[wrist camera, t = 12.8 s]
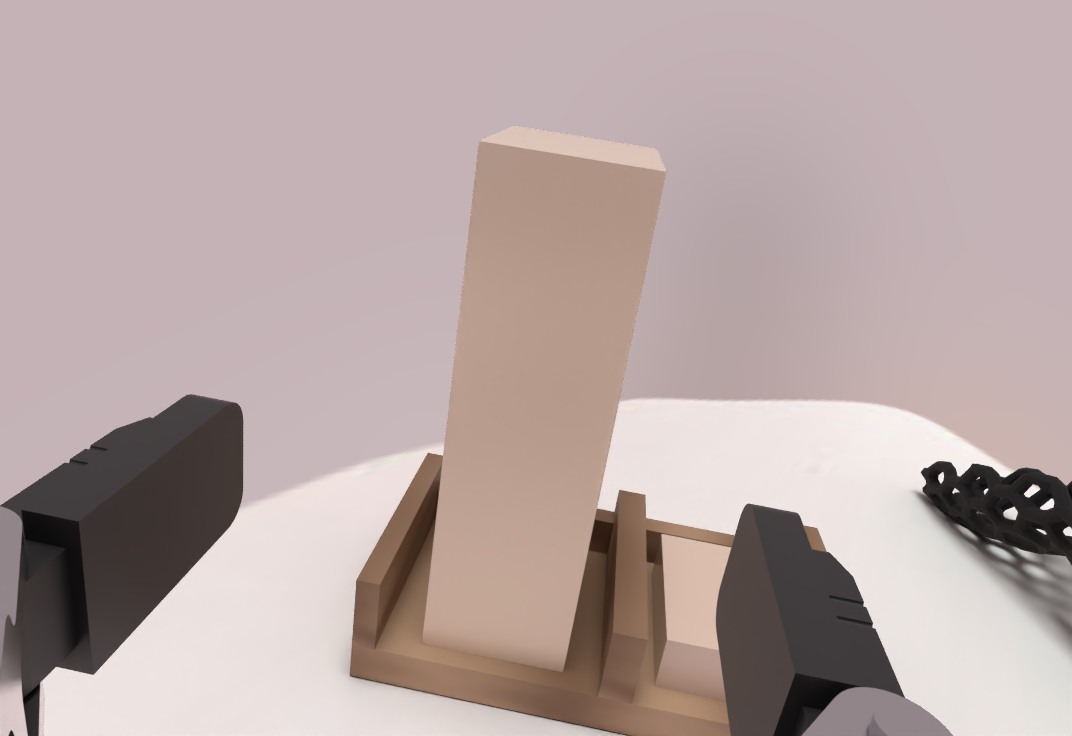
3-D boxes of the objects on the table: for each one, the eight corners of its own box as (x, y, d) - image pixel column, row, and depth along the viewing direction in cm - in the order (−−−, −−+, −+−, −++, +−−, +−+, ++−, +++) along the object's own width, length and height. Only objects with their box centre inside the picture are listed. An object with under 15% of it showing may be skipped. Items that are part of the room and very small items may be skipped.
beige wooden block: (575, 556, 28) (656, 148, 23) (562, 672, 23) (666, 171, 17) (461, 534, 29) (514, 125, 23) (421, 644, 23) (478, 140, 18)
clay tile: (769, 597, 28) (782, 557, 27) (799, 716, 23) (816, 670, 22) (651, 574, 28) (661, 533, 27) (654, 685, 23) (667, 639, 22)
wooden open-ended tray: (791, 604, 30) (817, 528, 28) (842, 780, 22) (880, 687, 21) (419, 530, 31) (427, 452, 29) (349, 675, 23) (356, 580, 22)
